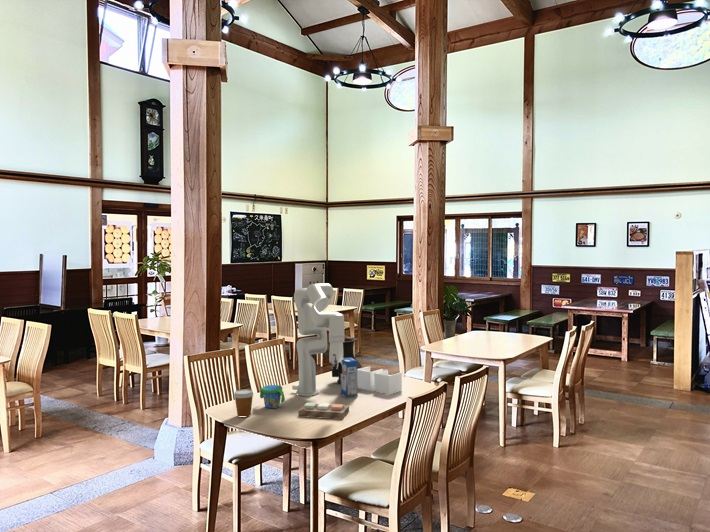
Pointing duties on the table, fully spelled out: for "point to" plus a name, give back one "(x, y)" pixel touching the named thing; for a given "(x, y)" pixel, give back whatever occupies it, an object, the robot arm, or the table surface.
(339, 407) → the terracotta button
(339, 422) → the table surface
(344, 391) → the milk carton
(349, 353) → the jug
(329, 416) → the tray
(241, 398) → the disposable coffee cup
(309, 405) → the sage button
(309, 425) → the table surface
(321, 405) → the cream button
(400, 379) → the storage container
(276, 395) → the snack cup
